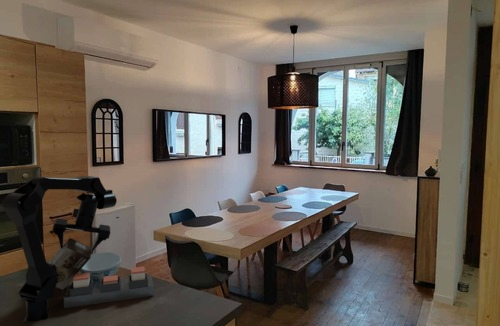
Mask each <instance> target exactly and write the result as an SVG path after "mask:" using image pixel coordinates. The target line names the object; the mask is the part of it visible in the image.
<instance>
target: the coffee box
mask: <svg viewBox="0 0 500 326" xmlns="http://www.w3.org/2000/svg"><path fill="white" fill-rule="evenodd" d="M91 250H92V247H90V246H88V245H86V244H84V243H82V242H80V241H78V240H75V239H73V238H72V237H69V238H68V240H66V241H65V243H63V247H62V249H61V247H60V248H59V250H58V251H57V252H55V254H54V255H53V256H52V257H51V258H50V260H49V261H48V262H47V263H48V264H53V265H56V269H57V273H58V275H59V277H57V278H58V283H57V284H56V288H57V289H60V290H64V289H65V288H66V286H68V284H69V283H70V282H72V280H73V279H74V276H75V274H79V272H80V270H81V268H82V267H83V266H84V265H85V264H86V263H87V262H88V261H89V259H90V257H91V254H92V252H91Z"/></svg>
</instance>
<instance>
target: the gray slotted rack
mask: <svg viewBox="0 0 500 326" xmlns="http://www.w3.org/2000/svg"><path fill="white" fill-rule="evenodd" d="M103 280H104V278H102V279H101V282H94V283H93V280H90V282H89V286H88V287H80V288H74V287H73V281H71V282H72V283H71V284H69V285H67V288H66V291H65V293H64V296H63V308H64V309H70V308H77V307H84V306H90V305H92V306H93V305H98V304H104V303H105V304H106V303H112V302H120V301H125V300H132V299H141V298H146V297H154V295H155V292H154V291H155V286H154V281H153V276H152V275H148V273H147V272H145V279H144V280H136V281H132V279H131V274H128V278H127V277H126V278H121V276H118V283H114V284H106V285H103Z"/></svg>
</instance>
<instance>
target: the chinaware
mask: <svg viewBox="0 0 500 326" xmlns="http://www.w3.org/2000/svg"><path fill="white" fill-rule="evenodd" d="M121 261H122V258H121V256H120V255H119V254H118V253H116V252H109V251H106V252H105V251H103V252H102V251H101V252H96V253H91V257H90V259H89V261H88V262H87V263H86V264H85V265H84V266H83V267H82V268H81V270H80V271H79V272H80V274H82V273H90V280H93V283H94V282H101V279H102V278H104V277H106V276H114V275H116V273H117V271H118V270H119V267H121V266H120V265H121V263H122V262H121Z"/></svg>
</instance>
